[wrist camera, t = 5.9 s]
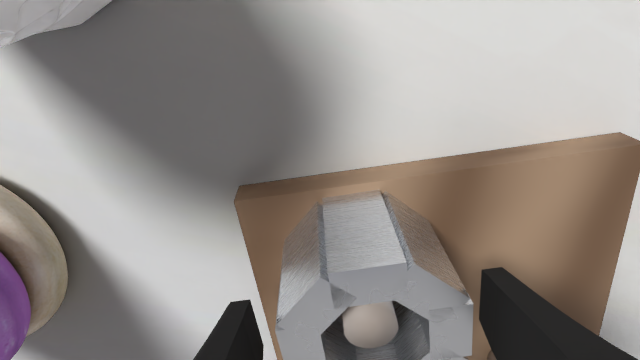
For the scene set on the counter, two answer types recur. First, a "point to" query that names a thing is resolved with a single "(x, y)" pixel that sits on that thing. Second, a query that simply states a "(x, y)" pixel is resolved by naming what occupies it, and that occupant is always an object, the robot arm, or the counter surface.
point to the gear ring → (370, 282)
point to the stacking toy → (27, 272)
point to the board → (476, 224)
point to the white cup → (42, 16)
